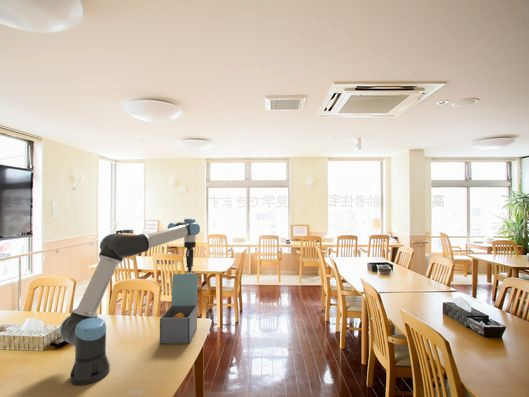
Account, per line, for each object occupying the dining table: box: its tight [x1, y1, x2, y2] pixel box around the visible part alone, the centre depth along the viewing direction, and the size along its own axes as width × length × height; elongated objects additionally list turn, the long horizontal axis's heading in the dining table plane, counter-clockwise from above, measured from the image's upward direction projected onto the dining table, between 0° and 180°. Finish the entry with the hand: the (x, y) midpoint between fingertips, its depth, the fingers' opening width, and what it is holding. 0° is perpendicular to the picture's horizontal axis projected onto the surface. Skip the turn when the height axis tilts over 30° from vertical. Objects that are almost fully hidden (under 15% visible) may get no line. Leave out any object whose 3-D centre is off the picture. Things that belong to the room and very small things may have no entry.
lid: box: [170, 273, 199, 306], centre depth 176 cm, size 19×16×1 cm
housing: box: [159, 304, 198, 346], centre depth 164 cm, size 20×16×14 cm
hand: (189, 276), depth 189 cm, fingers closed
